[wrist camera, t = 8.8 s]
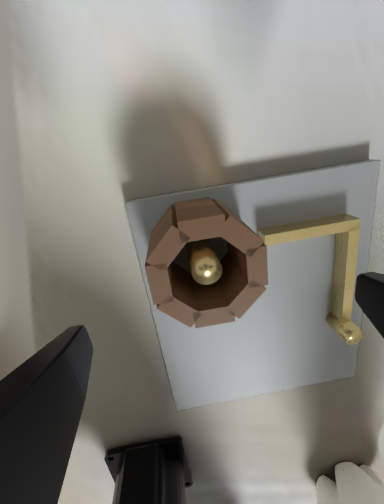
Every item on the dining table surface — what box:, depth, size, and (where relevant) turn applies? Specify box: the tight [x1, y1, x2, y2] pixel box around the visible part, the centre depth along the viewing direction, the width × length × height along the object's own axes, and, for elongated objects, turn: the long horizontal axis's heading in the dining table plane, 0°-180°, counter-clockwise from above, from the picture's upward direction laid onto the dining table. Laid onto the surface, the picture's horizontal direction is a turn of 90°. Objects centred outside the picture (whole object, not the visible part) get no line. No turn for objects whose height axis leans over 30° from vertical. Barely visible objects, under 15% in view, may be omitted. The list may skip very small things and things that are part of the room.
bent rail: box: [257, 214, 363, 345], centre depth 16 cm, size 8×6×2 cm
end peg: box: [186, 239, 222, 285], centre depth 13 cm, size 1×1×4 cm
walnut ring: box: [145, 197, 268, 328], centre depth 13 cm, size 5×5×4 cm
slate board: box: [125, 160, 380, 411], centre depth 17 cm, size 16×14×1 cm
